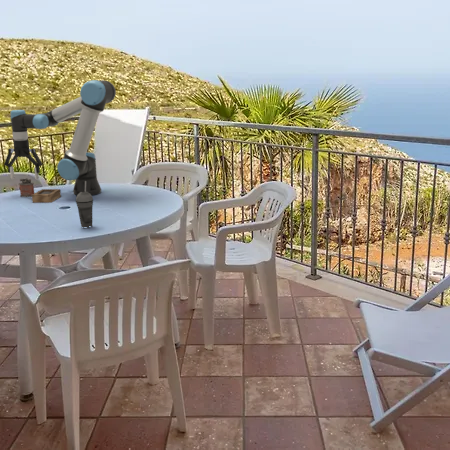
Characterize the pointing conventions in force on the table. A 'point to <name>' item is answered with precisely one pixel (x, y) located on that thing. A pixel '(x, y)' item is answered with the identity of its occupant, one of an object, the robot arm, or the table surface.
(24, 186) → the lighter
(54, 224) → the table surface
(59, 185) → the table surface
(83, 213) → the beverage cup
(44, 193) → the shallow wooden box
